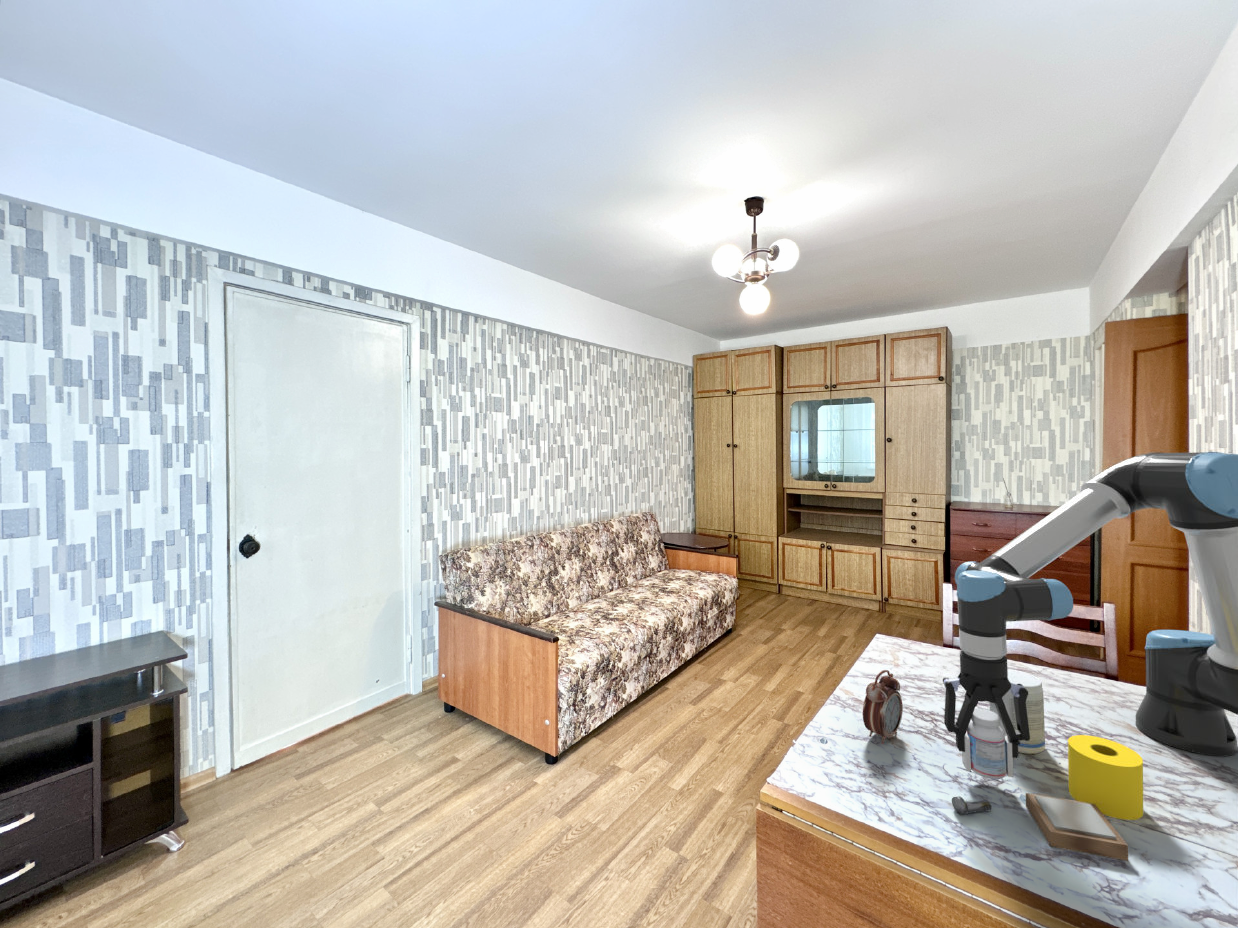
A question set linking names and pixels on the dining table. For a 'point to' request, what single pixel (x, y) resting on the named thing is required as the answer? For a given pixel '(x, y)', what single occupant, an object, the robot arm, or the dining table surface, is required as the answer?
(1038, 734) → the supplement tub
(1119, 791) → the yellow toilet paper roll
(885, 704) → the alarm clock
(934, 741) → the dining table surface
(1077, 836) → the stand
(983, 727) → the pill bottle
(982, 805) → the loose bolt
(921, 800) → the dining table surface
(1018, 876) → the dining table surface
